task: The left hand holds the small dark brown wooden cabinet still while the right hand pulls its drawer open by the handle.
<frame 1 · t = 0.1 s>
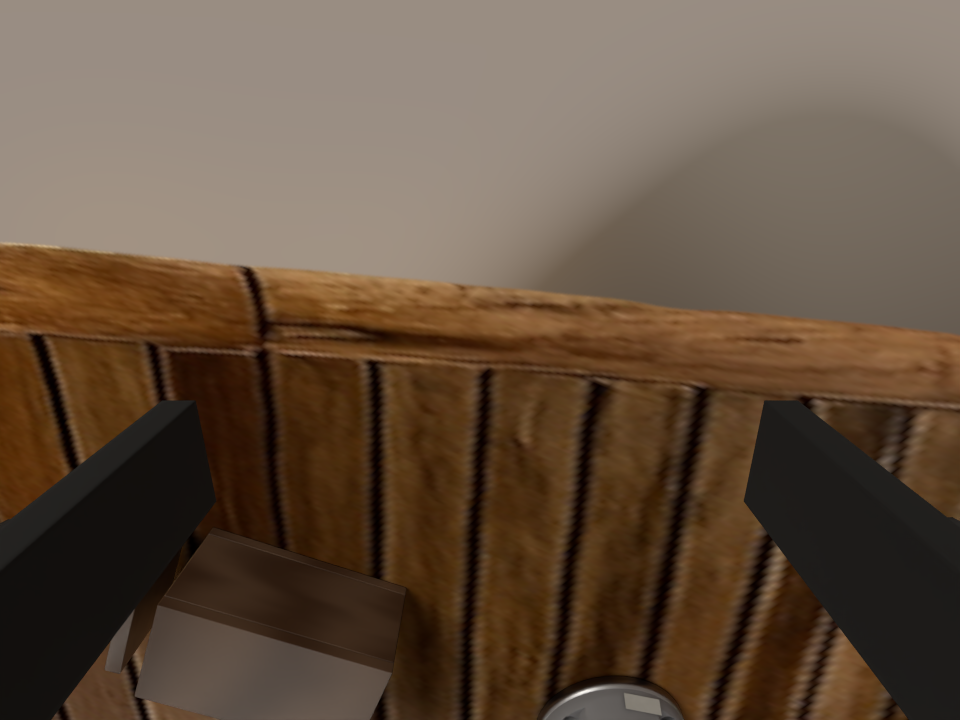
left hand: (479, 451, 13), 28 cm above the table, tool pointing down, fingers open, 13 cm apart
drawer: (208, 616, 45), point 4 cm above the table, slide at 1.8 cm
cabinet: (297, 598, 50), on the table
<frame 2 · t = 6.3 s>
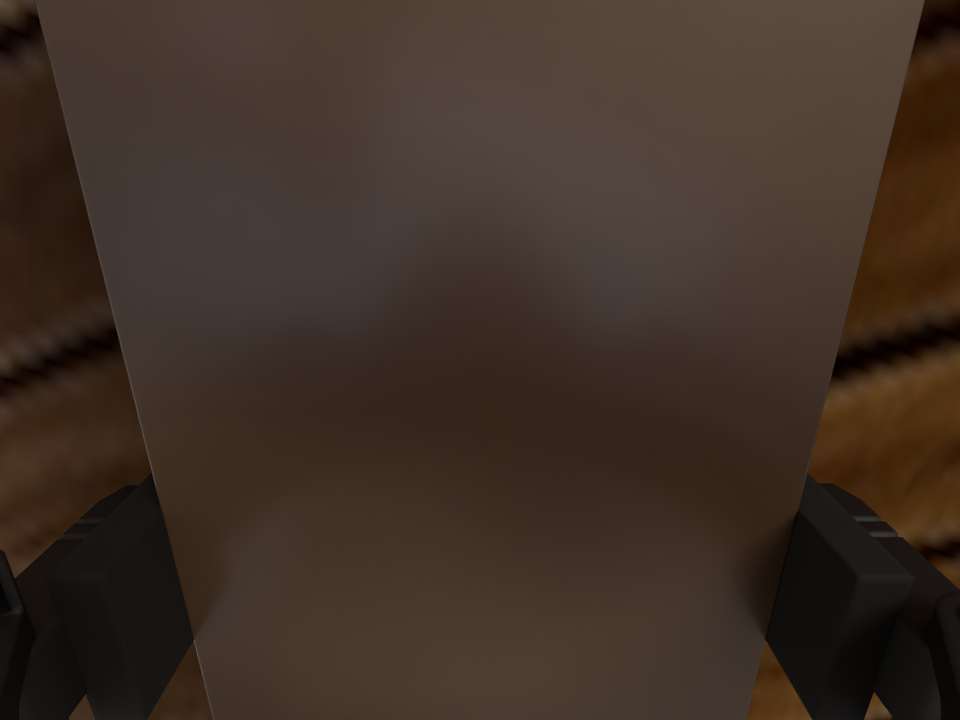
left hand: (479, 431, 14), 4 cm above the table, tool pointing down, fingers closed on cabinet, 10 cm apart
cabinet: (479, 237, 16), on the table, touching left hand
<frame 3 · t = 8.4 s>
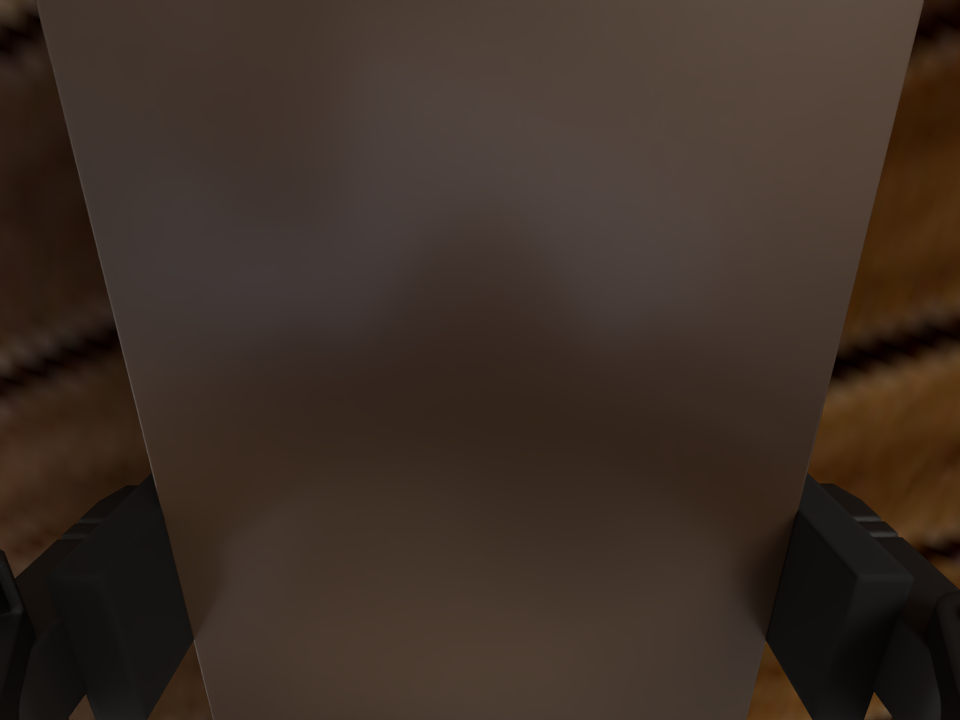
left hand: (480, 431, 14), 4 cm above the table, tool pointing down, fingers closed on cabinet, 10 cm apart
cabinet: (479, 237, 16), on the table, touching left hand
when the left hand's fingers open (4 cm above the table, at t = 11.5 s): cabinet stays where it is, on the table.
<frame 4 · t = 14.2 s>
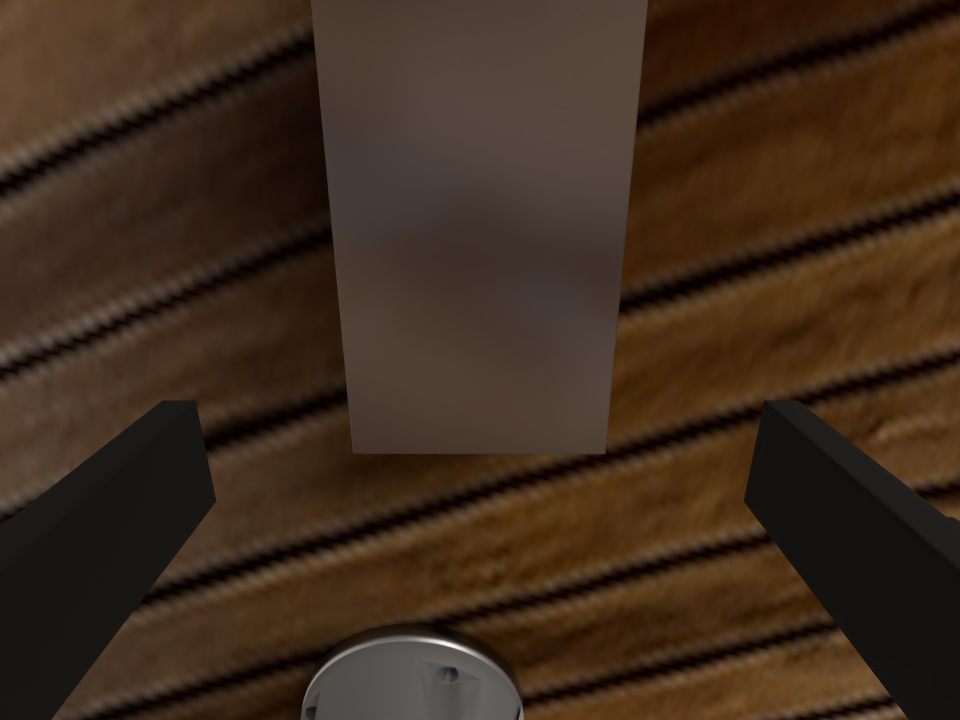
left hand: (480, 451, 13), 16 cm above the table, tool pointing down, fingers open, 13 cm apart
cabinet: (479, 201, 27), on the table
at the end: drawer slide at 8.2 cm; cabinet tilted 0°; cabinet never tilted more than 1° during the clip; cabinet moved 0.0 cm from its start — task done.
